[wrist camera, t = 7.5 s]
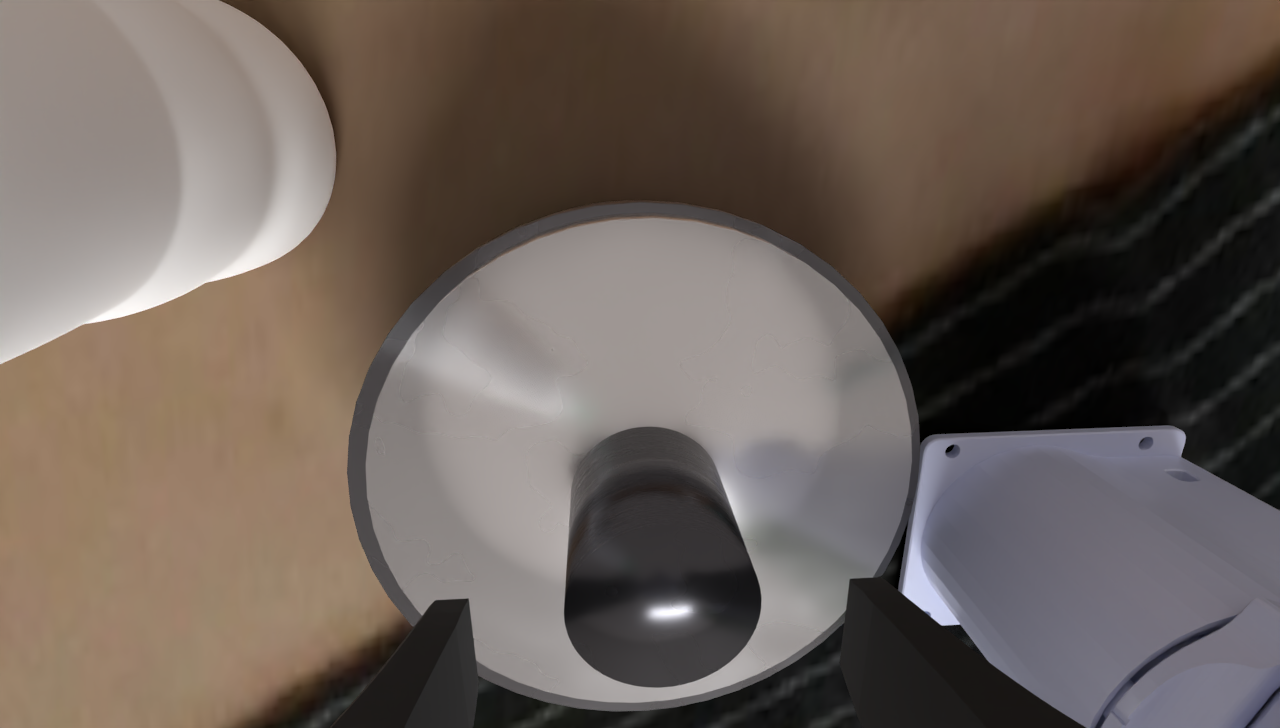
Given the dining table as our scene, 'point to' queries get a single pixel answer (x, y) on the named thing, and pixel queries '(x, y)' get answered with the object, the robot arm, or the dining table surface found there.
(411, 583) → the steel lid
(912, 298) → the dining table surface
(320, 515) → the dining table surface
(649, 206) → the cooking pot
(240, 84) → the water bottle
